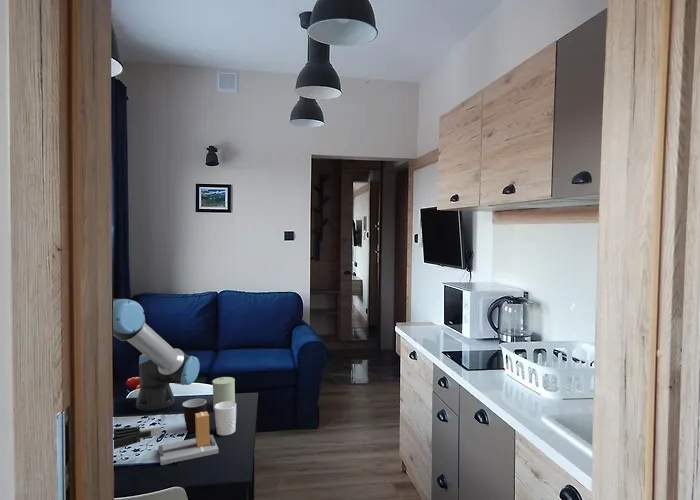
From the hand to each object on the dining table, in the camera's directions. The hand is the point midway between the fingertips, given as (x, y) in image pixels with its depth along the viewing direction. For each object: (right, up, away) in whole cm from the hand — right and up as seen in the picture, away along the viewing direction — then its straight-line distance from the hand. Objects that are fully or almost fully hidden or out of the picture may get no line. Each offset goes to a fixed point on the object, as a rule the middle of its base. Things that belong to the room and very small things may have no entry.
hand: (161, 429), depth 157 cm
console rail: (+7, -9, +4) cm, 12 cm away
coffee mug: (+4, -8, +23) cm, 25 cm away
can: (+9, -7, +43) cm, 45 cm away
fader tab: (+12, -7, +6) cm, 15 cm away
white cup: (+16, -8, +19) cm, 26 cm away
